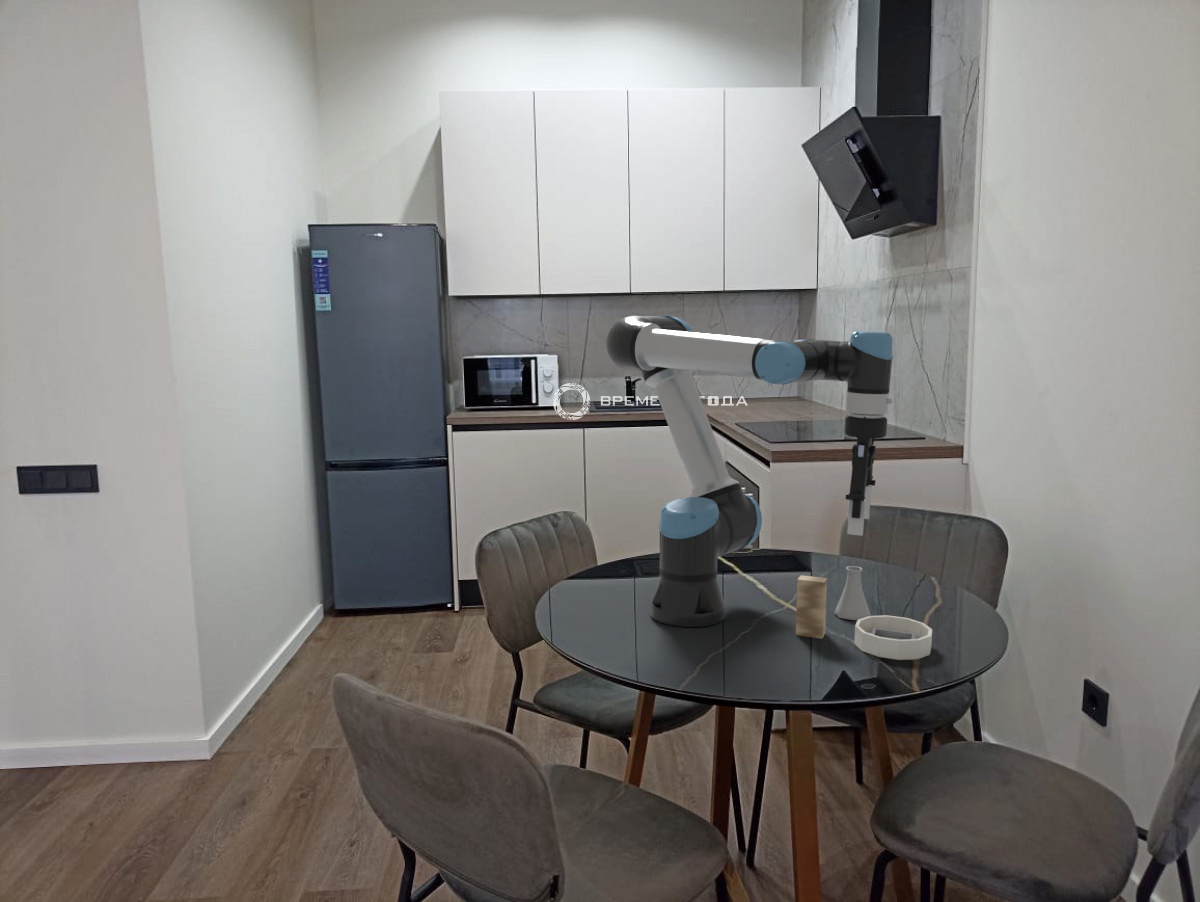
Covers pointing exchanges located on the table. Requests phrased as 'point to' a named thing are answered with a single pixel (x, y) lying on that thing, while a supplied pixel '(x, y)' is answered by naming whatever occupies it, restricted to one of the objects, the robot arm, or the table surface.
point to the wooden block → (811, 606)
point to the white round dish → (893, 637)
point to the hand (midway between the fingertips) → (858, 526)
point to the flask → (853, 597)
